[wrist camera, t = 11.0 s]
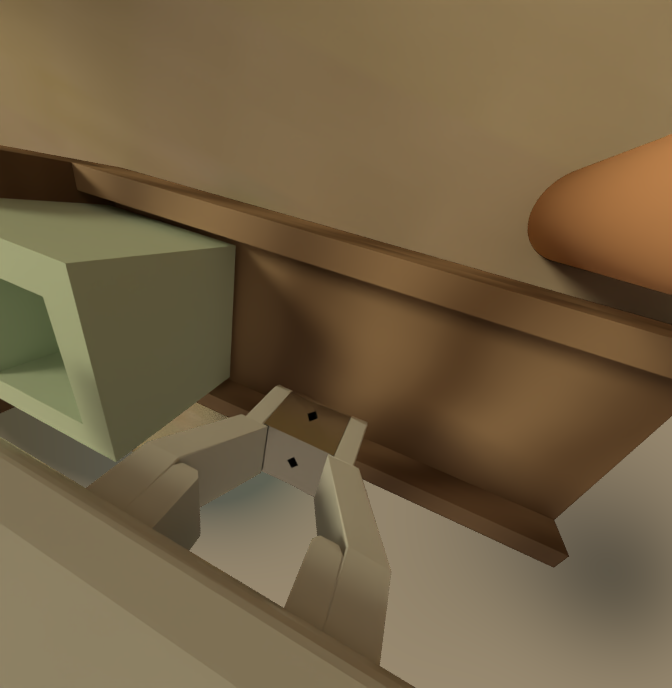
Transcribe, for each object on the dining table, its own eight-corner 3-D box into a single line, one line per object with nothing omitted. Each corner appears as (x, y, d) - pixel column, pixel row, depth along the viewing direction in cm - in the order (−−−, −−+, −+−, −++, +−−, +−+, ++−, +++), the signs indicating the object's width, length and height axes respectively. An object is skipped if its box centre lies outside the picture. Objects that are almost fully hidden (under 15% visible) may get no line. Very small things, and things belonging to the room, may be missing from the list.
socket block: (235, 245, 11) (65, 263, 6) (229, 376, 14) (116, 462, 9) (109, 205, 12) (-123, 190, 7) (130, 334, 16) (-19, 388, 10)
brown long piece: (686, 328, 9) (1618, 707, 2) (527, 493, 14) (632, 788, 7) (121, 167, 14) (-219, 104, 7) (143, 331, 19) (-43, 400, 11)
